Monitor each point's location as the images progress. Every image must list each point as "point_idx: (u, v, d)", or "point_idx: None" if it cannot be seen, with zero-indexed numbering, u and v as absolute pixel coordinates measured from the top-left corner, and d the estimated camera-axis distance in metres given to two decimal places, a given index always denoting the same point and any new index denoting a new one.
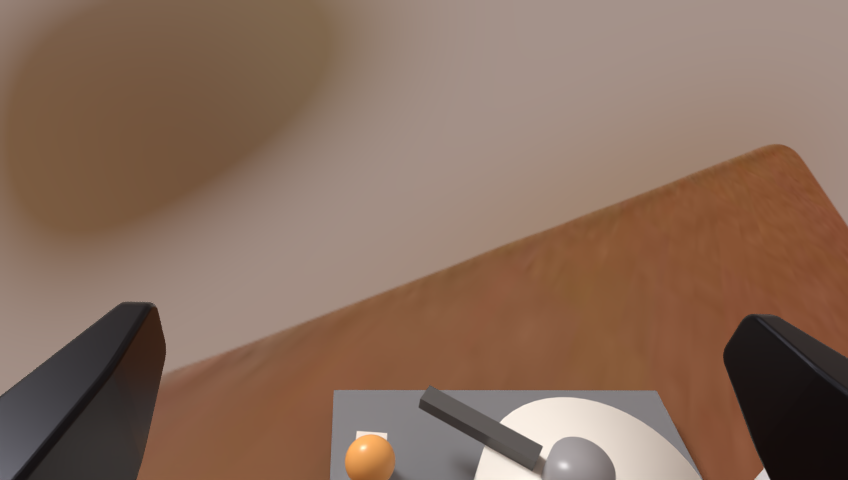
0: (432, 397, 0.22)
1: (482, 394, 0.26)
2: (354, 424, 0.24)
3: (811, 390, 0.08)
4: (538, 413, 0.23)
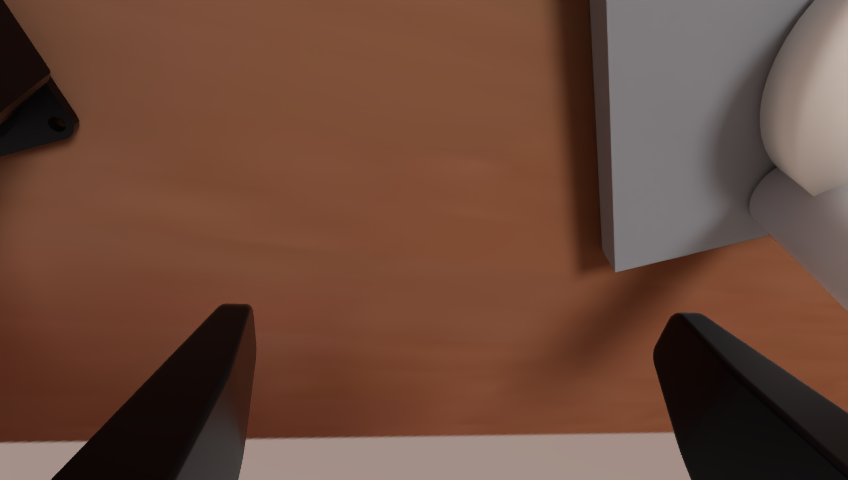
0: None
1: None
2: None
3: (728, 390, 0.07)
4: None
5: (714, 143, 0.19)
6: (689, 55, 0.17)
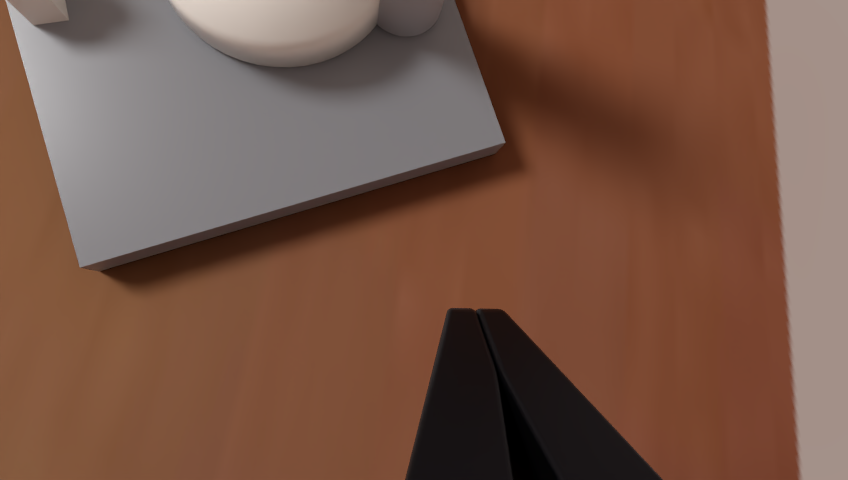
0: None
1: None
2: None
3: None
4: None
5: (357, 89, 0.21)
6: (276, 139, 0.20)
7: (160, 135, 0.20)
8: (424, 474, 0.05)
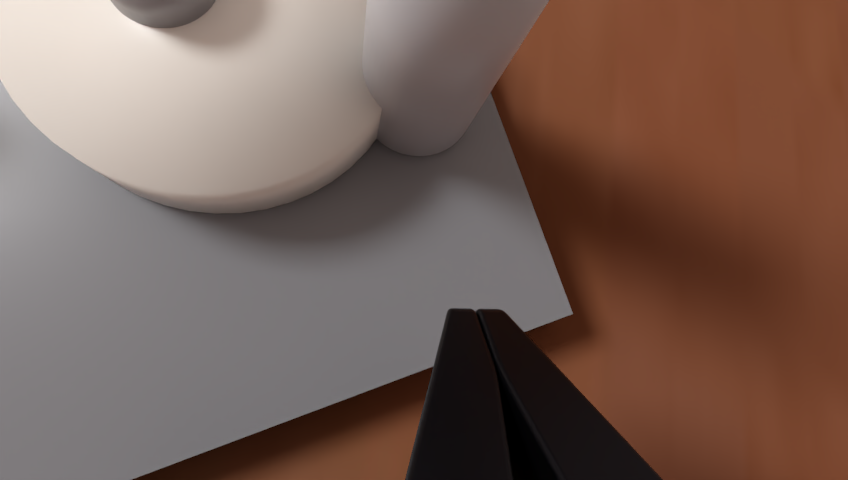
0: None
1: None
2: None
3: None
4: None
5: (346, 241, 0.14)
6: (220, 328, 0.13)
7: (31, 333, 0.12)
8: (424, 474, 0.05)
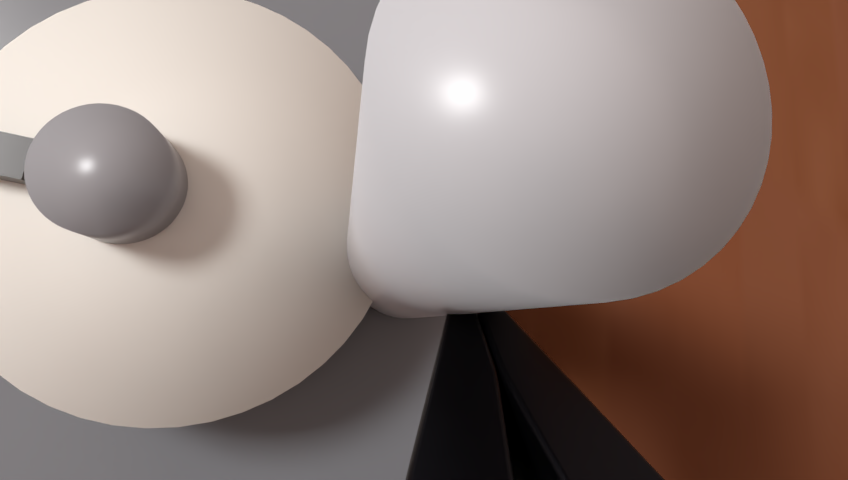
0: None
1: (2, 9, 0.13)
2: None
3: None
4: (41, 54, 0.11)
5: (329, 434, 0.13)
6: None
7: None
8: (424, 474, 0.05)
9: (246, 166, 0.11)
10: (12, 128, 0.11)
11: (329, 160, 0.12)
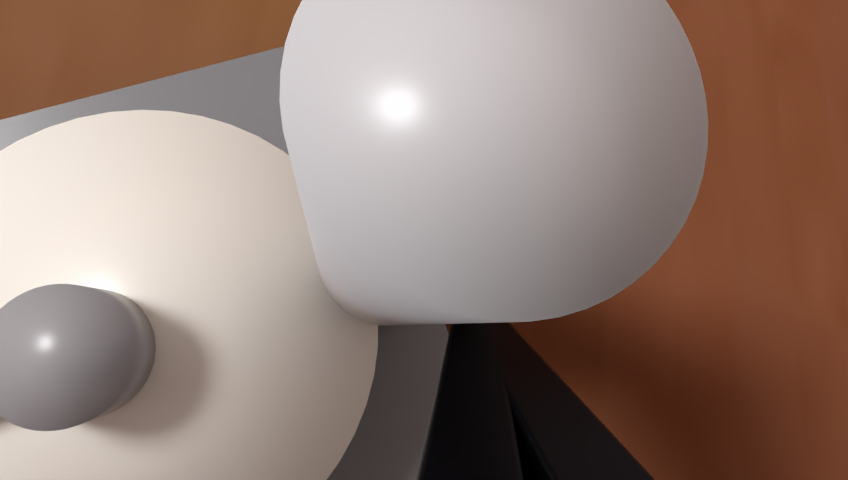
0: None
1: None
2: None
3: None
4: None
5: None
6: None
7: None
8: (435, 474, 0.05)
9: (192, 270, 0.11)
10: None
11: (266, 221, 0.11)
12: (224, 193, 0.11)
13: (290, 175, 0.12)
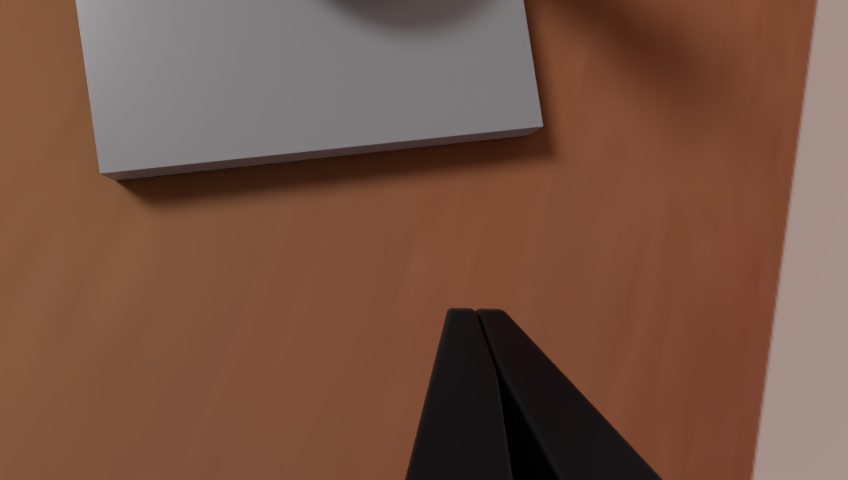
0: None
1: None
2: None
3: None
4: None
5: (407, 44, 0.21)
6: (319, 79, 0.20)
7: (201, 53, 0.19)
8: (424, 474, 0.05)
9: None
10: None
11: None
12: None
13: None
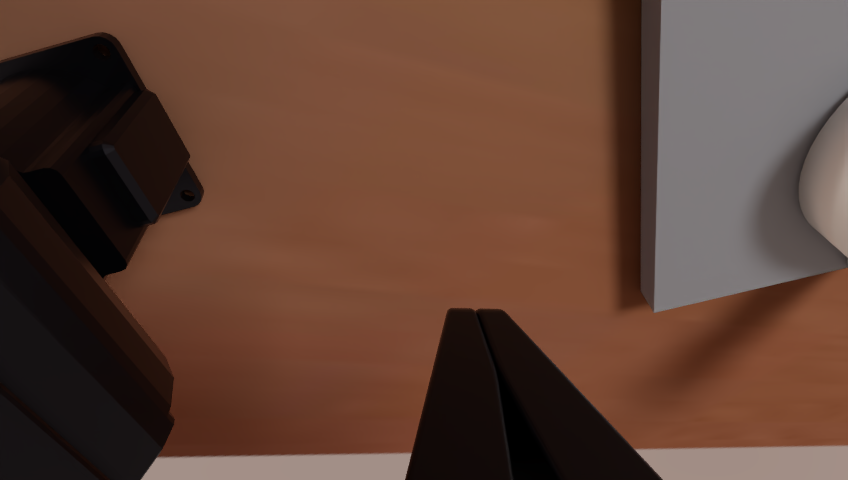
0: None
1: None
2: None
3: None
4: None
5: (745, 207, 0.22)
6: (727, 138, 0.20)
7: (777, 23, 0.18)
8: (424, 474, 0.05)
9: None
10: None
11: None
12: None
13: None
